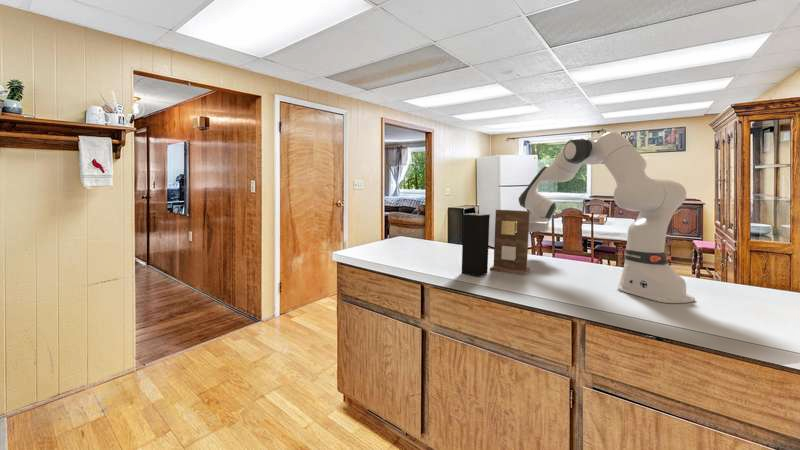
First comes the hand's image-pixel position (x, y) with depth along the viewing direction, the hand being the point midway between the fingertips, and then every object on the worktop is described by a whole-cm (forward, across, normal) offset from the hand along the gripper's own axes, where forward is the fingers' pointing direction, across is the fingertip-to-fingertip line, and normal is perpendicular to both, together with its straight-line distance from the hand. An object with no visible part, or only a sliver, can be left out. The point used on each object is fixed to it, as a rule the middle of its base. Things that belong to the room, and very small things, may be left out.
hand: (521, 226), depth 167 cm
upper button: (+17, 0, +1) cm, 17 cm away
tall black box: (+30, -10, +18) cm, 36 cm away
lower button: (+16, 0, +12) cm, 20 cm away
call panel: (+16, 0, +18) cm, 24 cm away
